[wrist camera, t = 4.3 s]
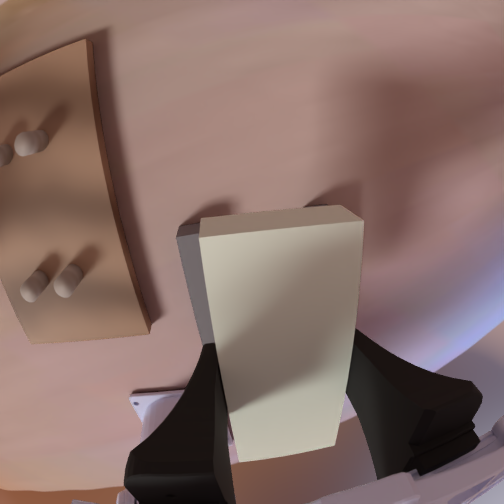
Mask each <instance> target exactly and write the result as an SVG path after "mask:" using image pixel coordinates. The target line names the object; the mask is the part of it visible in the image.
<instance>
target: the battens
mask: <svg viewBox="0 0 504 504" xmlns="http://www.w3.org/2000/svg"><path fill="white" fill-rule="evenodd" d="M318 206H328V205H327V204H323V205H316V206H308V207H318ZM303 208H306V207H303ZM199 231H200V223H196V224H190V225H184V226H179V229H178V232H177V236H176V239H177V243H178V248H179V253H180V257H181V261H182V266H183V270H184V274H185V278H186V283H187V287H188V291H189V295H190V299H191V303H192V307H193V311H194V315H195V319H196V322H197V326H198V330H199V334H200V337H201V341H202V345H204V344H206V343H215V339H214V333H213V327H212V321H211V315H210V309H209V303H208V297H207V290H206V284H205V277H204V271H203V264H202V257H201V250H200V243H199Z"/></svg>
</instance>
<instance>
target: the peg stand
mask: <svg viewBox="0 0 504 504" xmlns="http://www.w3.org/2000/svg"><path fill="white" fill-rule="evenodd" d="M0 279H1V281H2V284H3V286H4V288H5V291H6V293H7V296H8V298H9V300H10V302H11V305H12V307H13V309H14V311H15V313H16V315H17V318H18V320H19V322H20V324H21V326H22V328H23V330H24V332H25V334H26V336H27V338H28V340H29V341H30V343H31V344H45V343H61V342H75V341H87V340H99V339H109V338H119V337H129V336H138V335H147V334H150V330H151V325H152V324H151V321H150V318H149V315H148V312H147V309H146V306H145V303H144V300H143V297H142V294H141V290H140V287H139V284H138V281H137V277H136V274H135V271H134V267H133V264H132V260H131V257H130V253H129V249H128V246H127V242H126V238H125V234H124V230H123V226H122V222H121V218H120V214H119V210H118V206H117V201H116V197H115V193H114V188H113V183H112V179H111V174H110V169H109V164H108V158H107V153H106V147H105V142H104V136H103V130H102V123H101V117H100V110H99V103H98V95H97V87H96V78H95V68H94V57H93V44H92V42H90V41H89V40H87V39H83V40H80V41H78V42H75V43H72V44H70V45H67V46H64V47H62V48H59V49H57V50H54V51H52V52H50V53H47V54H45V55H43V56H40V57H38V58H36V59H34V60H31V61H29V62H27V63H25V64H23V65H21V66H19V67H17V68H15V69H13V70H11V71H9V72H7V73H5V74H3V75H2V76H0Z"/></svg>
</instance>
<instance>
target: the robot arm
mask: <svg viewBox="0 0 504 504" xmlns="http://www.w3.org/2000/svg"><path fill="white" fill-rule="evenodd" d="M346 394H347V396H348V398H349V400H350V402H351V404H352V405H353V407H354V409H355V411H356V413H357V416H358V418H359V420H360V423H361V425H362V428H363V431H364V434H365V437H366V440H367V443H368V446H369V450H370V453H371V456H372V460H373V464H374V468H375V471H376V476H377V480H376V481H373V482H370V483H367V484H364V485H361V486H358V487H354V488H351V489H347V490H344V491H340V492H337V493H333V494H330V495H327V496H324V497H321V498H319V499H317V500H315V501H313V502H310V503H305V504H470V503H471V502H473V501H474V500H475V499H477V498H479V497H480V496H481V495H483V494H484V493H486V492H487V491H489V490H490V489H491V488H493V487H494V486H496V485H497V484H499V483H500V482H501V481H503V480H504V416H502V417H501V418H500V419H499V420H498V421H497V422H496V423H495V425H494V426H493V428H492V430H491V431H489V432H488V433H486V434H484V435H482V436H481V437H479V438H478V436H477V435H476V433H475V432H474V430H473V429H474V428H475V424H474V423H473V422H472V419H473V417H474V416H475V414H476V412H477V411H478V409H479V407H480V405H481V403H482V398H483V396H482V394H481V392H480V391H479V390H478V389H477V387H476V386H475V385H474V384H473V383H472V382H471V381H467V380H461V379H456V378H451V377H447V376H443V375H440V374H436V373H433V372H430V371H428V370H425V369H422V368H420V367H417V366H415V365H413V364H411V363H409V362H407V361H405V360H403V359H401V358H399V357H397V356H395V355H394V354H392V353H390V352H389V351H387V350H386V349H384V348H382V347H381V346H379V345H378V344H377V343H375V342H374V341H372V340H371V339H369V338H368V337H367V336H365V335H364V334H363V333H361V332H360V331H359V330H357V329H356V328H355V334H354V341H353V348H352V355H351V362H350V368H349V375H348V381H347V386H346ZM129 400H130V402H131V404H132V406H133V407H134V409H135V411H136V413H137V414H138V416H139V418H140V420H141V421H142V423H143V425H142V432H141V440H140V444H139V445H138V446H137V447H136V448H134V449H133V450H132V451H131V452H130V454H129V457H128V461H127V464H126V468H125V476H124V486H125V488H126V489H125V490H124V491H121V492H120V493H118V497H117V501H116V504H236V500H235V494H234V488H233V481H232V473H231V465H230V457H229V449H228V446H231V445H233V440H232V437H231V434H230V431H229V428H228V407H227V403H226V398H225V392H224V387H223V382H222V377H221V372H220V366H219V361H218V355H217V350H216V344H215V343H206V344H204V345H203V348H202V352H201V355H200V358H199V361H198V363H197V366H196V368H195V370H194V373H193V375H192V377H191V379H190V381H189V383H188V385H187V387H186V388H185V390H176V391H165V392H152V393H137V394H131V395H130V396H129ZM72 504H97V503H92V502H86V501H80V500H72Z"/></svg>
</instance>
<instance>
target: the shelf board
mask: <svg viewBox="0 0 504 504" xmlns="http://www.w3.org/2000/svg"><path fill="white" fill-rule="evenodd" d="M363 234H364V220H362V219H361V218H360V217H358V216H357V215H355V214H354V213H352V212H351V211H349V210H348V209H346V208H345V207H343V206H342V205H330V206H318V207H306V208H295V209H284V210H273V211H263V212H253V213H243V214H234V215H225V216H216V217H207V218H201V221H200V231H199V243H200V250H201V257H202V264H203V271H204V277H205V284H206V290H207V297H208V303H209V309H210V315H211V321H212V327H213V333H214V339H215V344H216V350H217V355H218V361H219V366H220V372H221V377H222V382H223V387H224V392H225V398H226V403H227V407H228V412H229V417H230V422H231V427H232V431H233V436H234V441H235V445H236V450H237V454H238V459H239V462H245V461H253V460H261V459H268V458H274V457H280V456H286V455H291V454H297V453H302V452H307V451H312V450H316V449H321V448H325V447H330V446H334V445H335V441H336V437H337V432H338V428H339V423H340V418H341V413H342V408H343V403H344V398H345V392H346V386H347V381H348V375H349V368H350V362H351V355H352V348H353V341H354V334H355V326H356V318H357V309H358V299H359V289H360V278H361V266H362V251H363Z"/></svg>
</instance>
